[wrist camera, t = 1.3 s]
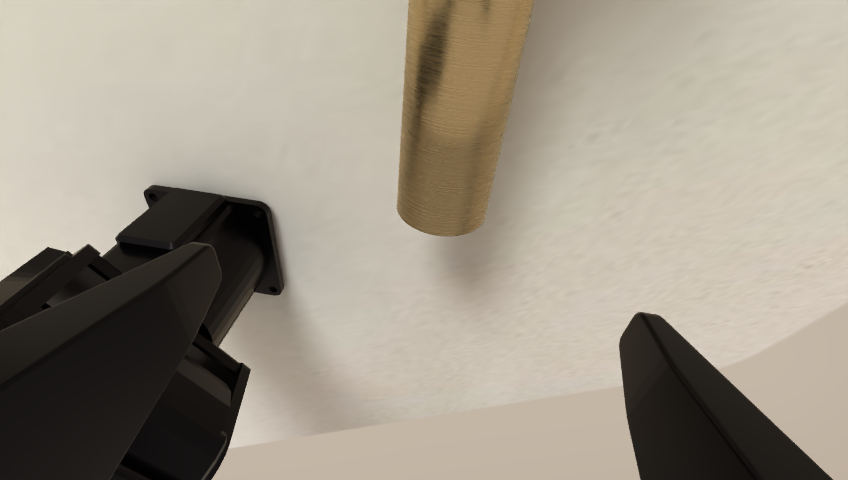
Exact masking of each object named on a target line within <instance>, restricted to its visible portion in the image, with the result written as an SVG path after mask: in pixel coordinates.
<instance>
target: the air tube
mask: <svg viewBox="0 0 848 480" xmlns="http://www.w3.org/2000/svg"><path fill="white" fill-rule="evenodd" d="M533 3H534V0H409V5H408V22H407V40H406V57H405V74H404V92H403V109H402V127H401V144H400V162H399V179H398V197H397V210H398V213H399V215H400V217H401V218H402V219H403V220H404V221H405V222H406V223H407V224H408V225H410V226H411V227H413V228H415V229H417V230H419V231H422V232H424V233H428V234H432V235H438V236H458V235H463V234H467V233H470V232H472V231H474V230H476V229H477V228H478V227H479V226H480V225H481V224H482V223H483V221H484V219H485V214H486V210H487V206H488V201H489V197H490V192H491V188H492V184H493V179H494V175H495V170H496V166H497V162H498V157H499V153H500V148H501V144H502V140H503V135H504V131H505V126H506V122H507V118H508V113H509V109H510V104H511V100H512V96H513V91H514V87H515V82H516V78H517V74H518V69H519V65H520V60H521V56H522V52H523V47H524V43H525V38H526V34H527V30H528V25H529V21H530V16H531V12H532V8H533Z"/></svg>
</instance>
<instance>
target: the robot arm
mask: <svg viewBox="0 0 848 480" xmlns="http://www.w3.org/2000/svg"><path fill="white" fill-rule="evenodd" d="M144 197H145V199H146V202H147V204H148V206H149V209H148V210H147V211H146V212H144V213H143V214H142V215H141V216H140V217H138V218H137V219H136V220H135V221H133V222H132V223H131V224H130V225H129V226H127V227H126V228H125V229H124V230H123V231H121V232H120V233H119V234H118V235H117V237H116V238H115V239H116V241H117V244H116V245H115V246H114V247H113V248H112V249H110V250H109V251H108V252H107V253H106V254H105V255H103V256H102V257H101V256H99V254H100V252H98V251H97V250H96V249H95V248H93V247H92V246H91V245H89V244H87V245H86V246H84V247H83V248H81V249H80V250H79V251H77V252H76V253H74V254H71V253H70V252H69V251H67V252H64V251H61V250H57V249H53V248H49V247H47V248H46V249H45V250H43V251H42V252H40V253H39V254H38V255H36V256H35V257H34V258H32V259H31V260H29V261H28V262H27V263H25V264H24V265H22V266H21V267H20V268H18V269H17V270H16V271H14V272H13V273H11V274H10V275H9V276H7V277H6V278H4V279H3V280H2V281H0V480H211V479H212V478H213V476H214V475H215V473H216V471H217V470H218V468H219V467H220V465H221V463H222V461H223V459H224V457H225V455H226V452H227V450H228V447H229V444H230V441H231V437H232V434H233V430H234V427H235V423H236V420H237V416H238V413H239V409H240V406H241V402H242V399H243V395H244V392H245V388H246V385H247V381H248V378H249V374H250V370H251V369H250V368H248V367H247V366H246V365H244V364H243V363H239V362H237V361H236V360H235V359H233V358H232V357H231V356H229V355H228V354H227V353H226V352H224V351H223V350H222V349H220V348H219V345H220V344H221V342H222V341H223V339H224V338H225V336H226V334H227V333H228V331H229V330H230V328H231V327H232V325H233V324H234V322H235V321H236V319H237V318H238V316H239V314H240V313H241V311H242V310H243V308H244V307H245V305H246V304H247V302H248V301H249V299H250V298H251V296H252V294H253V293H254V292H257V293H263V294H269V295H280V294H281V292H282V291H283V289H284V283H283V278H282V272H281V267H280V261H279V256H278V250H277V245H276V239H275V234H274V228H273V223H272V218H271V212H270V209H269V207H268V206H267V205H266V204H265V203H263V202H260V201H255V200H249V199H242V198H236V197H229V196H223V195H219V194H212V193H206V192H199V191H193V190H186V189H180V188H171V187H164V186H158V185H152V186H150V187H149V188H147V189H146V190H145V191H144ZM256 209H257V210H259V211H260V212H261V213H259V212H258V211H257V210H256ZM619 350H620V359H621V369H622V378H623V388H624V397H625V406H626V413H627V419H628V424H629V430H630V434H631V439H632V443H633V447H634V452H635V457H636V461H637V466H638V470H639V475H640V479H641V480H833V479H832V478H831V477H830V476H829V475H828V474H826V473H825V472H824V471H823V470H822V469H821V468H820V467H819V466H818V465H817V464H816V463H815V462H814V461H813V460H812V459H811V458H810V457H809V456H808V455H806V454H805V453H804V452H803V451H802V450H801V449H800V448H799V447H798V446H797V445H796V444H795V443H794V442H793V441H791V439H790V438H789V437H787V436H786V435H785V434H784V433H783V432H782V431H781V430H780V429H779V428H778V427H777V426H776V425H775V424H774V423H773V422H772V421H771V420H770V419H769V418H767V417H766V416H765V415H764V414H763V413H762V412H761V411H760V410H759V409H758V408H757V407H756V406H755V405H754V404H753V403H752V402H751V401H750V400H749V399H747V398H746V397H745V396H744V395H743V394H742V393H741V392H740V391H739V390H738V389H737V388H736V387H735V386H734V385H733V384H732V383H731V382H730V381H729V380H727V379H726V378H725V377H724V376H723V375H722V374H721V373H720V372H719V371H718V370H717V369H716V368H715V367H714V366H713V365H712V364H711V363H710V362H709V361H708V360H706V359H705V358H704V357H703V356H702V355H701V354H700V353H699V352H698V351H697V350H696V349H695V348H694V347H693V346H692V345H691V344H690V343H689V342H688V341H686V340H685V339H684V338H683V337H682V336H681V335H680V334H679V333H678V332H677V331H676V330H675V329H674V328H673V327H672V326H671V325H670V324H669V323H668V322H666V321H665V320H664V319H663V318H662V317H661V316H659V315H656V314H650V313H644V312H639V313H637V314H635V315H634V317H633V318H632V320H631V321H630V323H629V325H628V326H627V328H626V329H625V331H624V333H623V334H622V336H621V338H620V343H619Z"/></svg>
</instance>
